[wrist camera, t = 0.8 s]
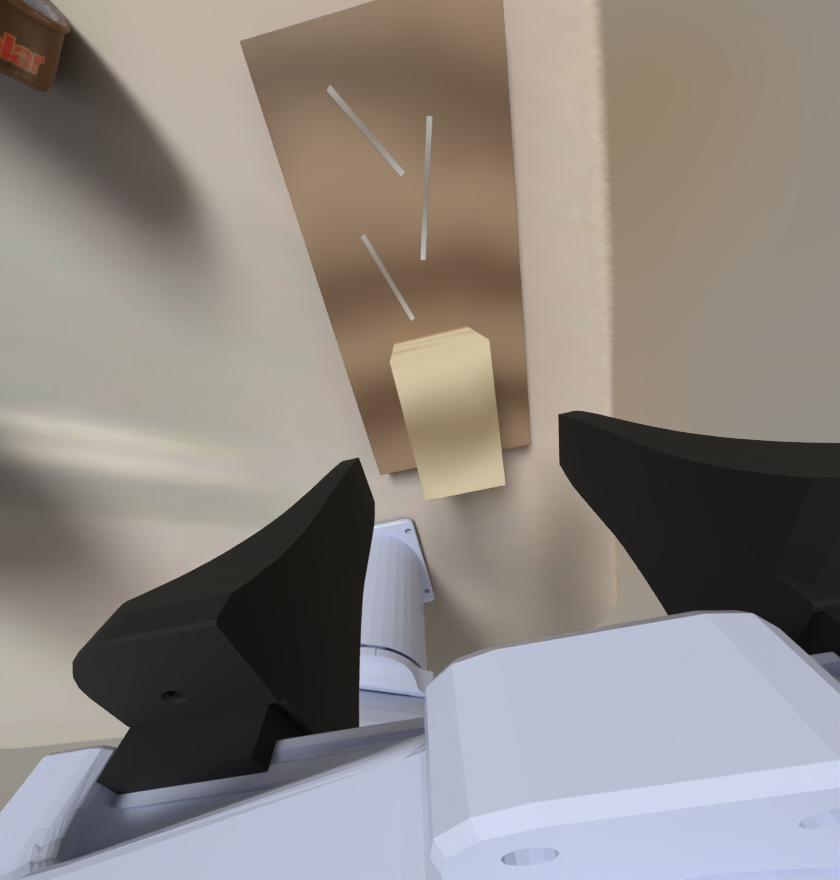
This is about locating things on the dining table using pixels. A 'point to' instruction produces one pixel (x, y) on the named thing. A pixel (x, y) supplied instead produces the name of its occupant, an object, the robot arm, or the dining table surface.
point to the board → (402, 189)
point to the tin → (31, 41)
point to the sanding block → (450, 411)
